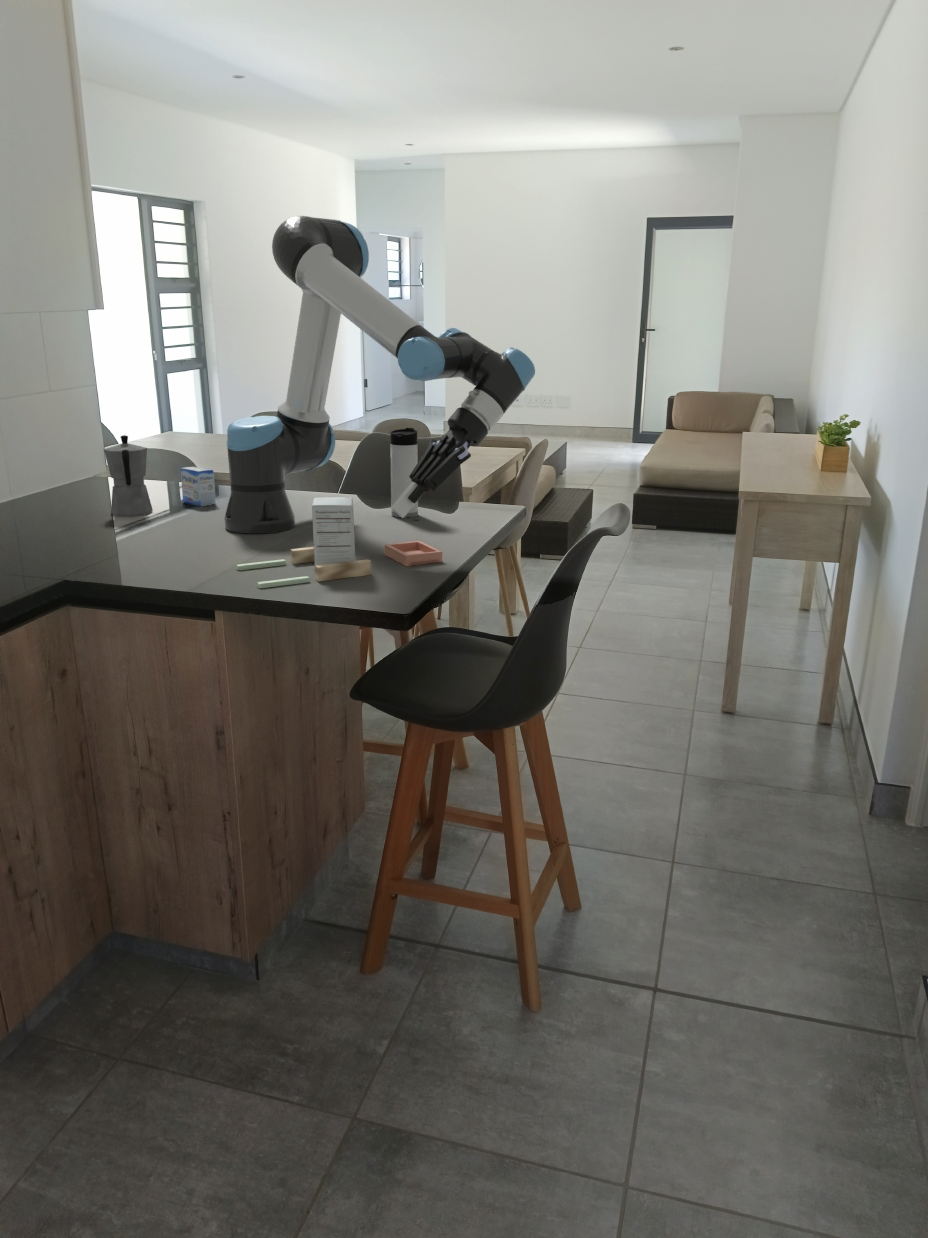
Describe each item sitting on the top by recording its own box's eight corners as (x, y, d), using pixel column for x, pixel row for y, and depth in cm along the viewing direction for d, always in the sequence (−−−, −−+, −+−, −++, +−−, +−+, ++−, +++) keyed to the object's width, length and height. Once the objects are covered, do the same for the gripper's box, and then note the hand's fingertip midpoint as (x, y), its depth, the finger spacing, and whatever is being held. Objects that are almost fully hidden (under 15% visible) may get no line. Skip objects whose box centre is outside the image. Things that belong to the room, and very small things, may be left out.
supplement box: (316, 563, 174) (313, 496, 170) (355, 562, 175) (354, 496, 171) (313, 573, 167) (310, 504, 163) (354, 572, 168) (352, 504, 164)
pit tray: (406, 566, 172) (406, 555, 172) (384, 554, 181) (384, 544, 180) (442, 561, 176) (442, 551, 175) (419, 550, 184) (419, 540, 184)
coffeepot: (111, 508, 221) (102, 432, 215) (152, 506, 224) (145, 431, 218) (110, 521, 207) (101, 440, 202) (154, 518, 210) (146, 439, 205)
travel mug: (423, 513, 218) (422, 428, 212) (410, 519, 213) (409, 431, 206) (400, 511, 221) (399, 426, 215) (386, 516, 215) (385, 429, 209)
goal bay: (259, 588, 157) (259, 583, 157) (236, 568, 169) (236, 564, 169) (309, 582, 162) (309, 577, 161) (283, 563, 174) (283, 559, 173)
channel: (318, 581, 162) (318, 567, 161) (291, 562, 174) (290, 549, 174) (371, 574, 167) (370, 561, 166) (340, 556, 179) (340, 543, 178)
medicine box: (182, 502, 229) (179, 467, 226) (197, 500, 232) (195, 465, 230) (201, 506, 224) (198, 471, 221) (216, 504, 227) (213, 469, 225)
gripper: (446, 402, 180) (369, 494, 177) (479, 408, 169) (398, 506, 166) (469, 428, 184) (395, 519, 181) (503, 435, 173) (425, 532, 170)
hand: (397, 512), depth 174 cm, fingers closed
